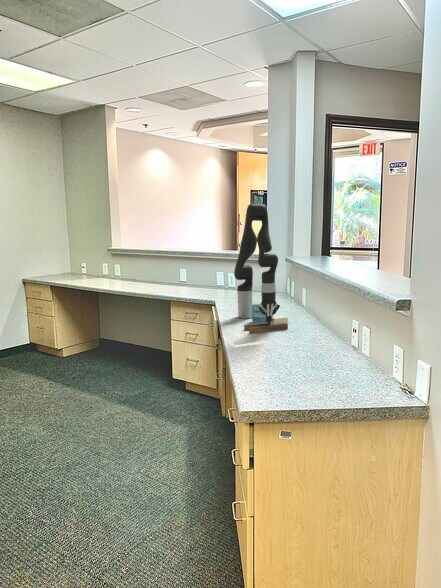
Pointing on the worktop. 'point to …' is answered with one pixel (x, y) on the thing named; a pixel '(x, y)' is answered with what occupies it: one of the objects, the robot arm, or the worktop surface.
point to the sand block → (279, 320)
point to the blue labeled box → (258, 314)
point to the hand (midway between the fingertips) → (268, 322)
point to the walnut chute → (264, 327)
